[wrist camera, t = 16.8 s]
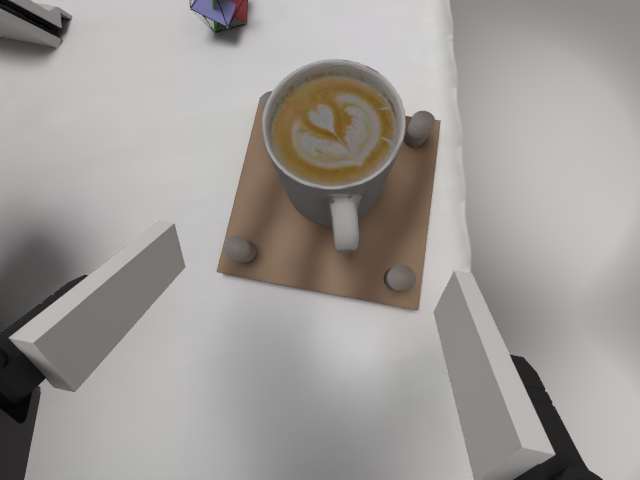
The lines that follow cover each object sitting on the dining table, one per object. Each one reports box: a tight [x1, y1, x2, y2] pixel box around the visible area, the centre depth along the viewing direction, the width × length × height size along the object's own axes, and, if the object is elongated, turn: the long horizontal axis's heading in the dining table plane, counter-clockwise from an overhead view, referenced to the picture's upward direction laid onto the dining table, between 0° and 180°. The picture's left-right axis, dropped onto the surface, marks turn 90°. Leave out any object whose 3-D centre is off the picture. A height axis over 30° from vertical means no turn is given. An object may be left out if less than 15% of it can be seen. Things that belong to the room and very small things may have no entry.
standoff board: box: [217, 91, 441, 310], centre depth 27 cm, size 20×20×4 cm
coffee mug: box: [262, 59, 406, 254], centre depth 23 cm, size 13×10×10 cm
